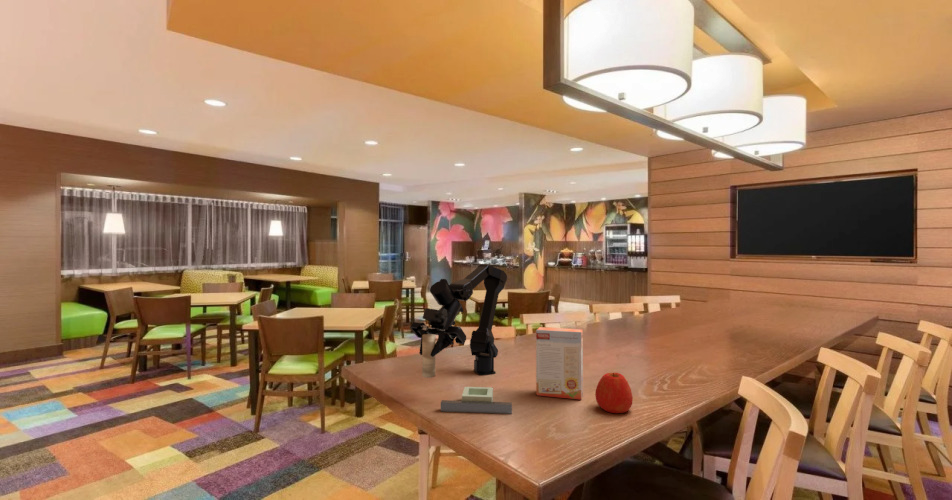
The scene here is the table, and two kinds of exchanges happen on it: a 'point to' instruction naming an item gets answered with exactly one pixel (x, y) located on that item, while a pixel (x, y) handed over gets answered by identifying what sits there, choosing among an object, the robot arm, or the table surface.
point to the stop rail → (476, 407)
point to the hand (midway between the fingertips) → (426, 355)
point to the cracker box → (559, 362)
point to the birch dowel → (428, 355)
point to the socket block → (478, 394)
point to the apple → (614, 393)
